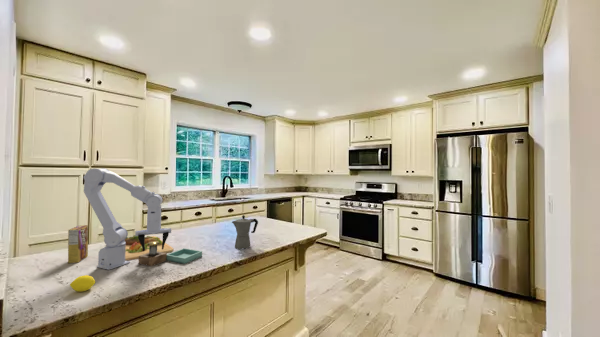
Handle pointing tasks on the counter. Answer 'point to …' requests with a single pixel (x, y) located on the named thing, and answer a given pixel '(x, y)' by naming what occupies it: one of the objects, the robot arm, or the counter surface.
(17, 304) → the counter surface
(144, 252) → the cutting board
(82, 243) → the candy box
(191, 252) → the tray
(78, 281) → the lemon
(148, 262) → the block
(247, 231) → the coffeepot
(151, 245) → the pin
